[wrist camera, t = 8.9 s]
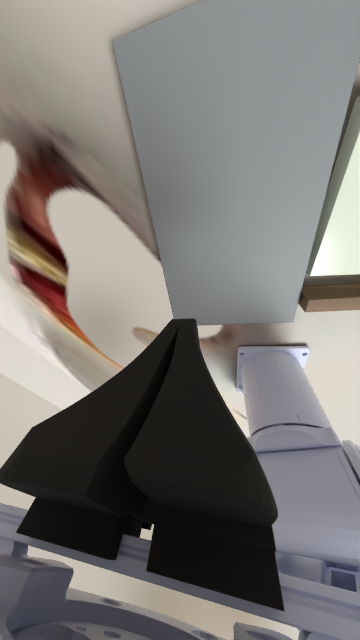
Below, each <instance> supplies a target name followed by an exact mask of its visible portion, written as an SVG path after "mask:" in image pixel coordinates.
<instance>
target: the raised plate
mask: <svg viewBox="0 0 360 640" xmlns="http://www.w3.org/2000/svg"><path fill="white" fill-rule="evenodd" d="M112 43H113V47H114V52H115V56H116V61H117V65H118V70H119V74H120V79H121V83H122V88H123V92H124V97H125V101H126V106H127V110H128V115H129V119H130V124H131V128H132V133H133V137H134V142H135V146H136V151H137V155H138V160H139V164H140V169H141V173H142V178H143V182H144V187H145V191H146V196H147V200H148V205H149V209H150V214H151V218H152V223H153V227H154V232H155V236H156V241H157V245H158V250H159V254H160V259H161V263H162V268H163V272H164V277H165V281H166V285H167V290H168V295H169V299H170V304H171V308H172V312H173V317H174V319H188V318H194V319H196V321H197V325H224V324H252V323H280V322H293V321H294V317H295V313H296V309H297V305H298V301H299V297H300V293H301V289H302V286H303V282H304V278H305V274H306V270H307V266H308V262H309V258H310V254H311V250H312V246H313V242H314V238H315V234H316V230H317V226H318V222H319V218H320V215H321V211H322V207H323V203H324V199H325V195H326V191H327V187H328V183H329V179H330V175H331V171H332V167H333V163H334V159H335V155H336V151H337V147H338V143H339V140H340V136H341V132H342V128H343V124H344V120H345V116H346V112H347V108H348V104H349V100H350V96H351V92H352V88H353V84H354V80H355V76H356V72H357V69H358V65H359V61H360V0H203V1H200V2H198V3H196V4H194V5H191V6H189V7H187V8H184V9H182V10H180V11H178V12H175V13H173V14H171V15H169V16H166V17H164V18H162V19H160V20H157V21H155V22H153V23H151V24H148V25H146V26H144V27H142V28H139V29H137V30H135V31H133V32H130V33H128V34H126V35H123V36H121V37H119V38H117V39H114V40H112Z"/></svg>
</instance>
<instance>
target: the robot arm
mask: <svg viewBox="0 0 360 640" xmlns="http://www.w3.org/2000/svg"><path fill="white" fill-rule="evenodd" d="M309 354H310V348H309V347H308V346H248V347H239V348H238V353H237V383H236V391H237V392H238V393H244V399H245V405H246V412H247V419H248V425H249V432H250V437H248V438H246V436H245V435H244V433H243V432H242V430H241V429H240V427H239V425H238V424H237V422H236V421H235V419H234V417H233V416H232V414H231V412H230V411H229V409H228V407H227V406H226V404H225V402H224V400H223V398H222V396H221V395H220V393H219V391H218V389H217V387H216V385H215V383H214V381H213V379H212V377H211V375H210V373H209V370H208V368H207V366H206V363H205V361H204V358H203V356H202V353H201V350H200V344H199V337H198V329H197V321H196V319H194V318H188V319H172V320H171V321H170V322H169V323H168V324H167V326H166V327H165V328H164V329H163V330H162V331H161V333H160V334H159V335H158V336H157V337H156V338H155V339H154V340H153V341H152V343H151V344H150V345H149V346H148V347H147V348H146V349H145V350H144V351H143V352H142V353H141V354H140V355H139V356H138V357H137V358H136V359H134V360H133V361H132V362H131V363H130V364H129V365H128V366H126V367H125V368H124V369H123V370H122V371H120V372H119V373H118V374H116V375H115V376H114V377H112V378H111V379H110V380H108V381H107V382H106V383H104V384H103V385H102V386H100V387H99V388H97V389H96V390H94V391H93V392H91V393H90V394H88V395H87V396H85V397H84V398H82V399H81V400H79V401H77V402H76V403H74V404H73V405H71V406H69V407H68V408H66V409H64V410H62V411H61V412H59V413H57V414H56V415H54V416H52V417H50V418H48V419H47V420H45V421H43V422H41V423H39V424H38V425H36V426H34V427H32V428H31V430H30V431H29V432H28V434H27V435H26V436H25V438H24V439H23V440H22V442H21V443H20V444H19V445H18V447H17V448H16V449H15V451H14V452H13V453H12V454H11V456H10V457H9V458H8V460H7V461H6V462H5V464H4V465H3V466H2V467H1V469H0V483H1V484H3V485H5V486H8V487H10V488H13V489H16V490H18V491H21V492H24V493H26V494H29V495H31V496H34V497H36V498H35V500H34V502H33V503H32V505H31V507H30V509H29V510H26V509H22V508H18V507H14V506H10V505H6V504H2V503H0V640H225V639H223V638H221V637H218V636H216V635H214V634H211V633H209V632H207V631H204V630H202V629H199V628H197V627H195V626H192V625H190V624H188V623H185V622H183V621H180V620H177V619H175V618H172V617H169V616H167V615H164V614H161V613H158V612H154V611H151V610H148V609H145V608H142V607H139V606H135V605H132V604H128V603H125V602H121V601H117V600H114V599H109V598H106V597H102V596H99V595H95V594H91V593H87V592H84V591H80V590H76V589H72V588H69V584H70V581H71V578H72V576H73V568H71V567H69V566H68V565H66V564H64V563H62V562H59V561H55V560H50V559H43V558H36V557H28V556H27V550H28V545H29V546H33V547H36V548H39V549H42V550H46V551H49V552H53V553H56V554H59V555H62V556H65V557H68V558H72V559H75V560H78V561H82V562H85V563H88V564H91V565H94V566H98V567H101V568H104V569H107V570H111V571H114V572H117V573H120V574H124V575H127V576H130V577H134V578H137V579H140V580H143V581H147V582H150V583H153V584H156V585H160V586H163V587H166V588H170V589H173V590H176V591H179V592H182V593H186V594H189V595H192V596H195V597H199V598H202V599H205V600H208V601H212V602H215V603H218V604H221V605H225V606H228V607H231V608H234V609H238V610H241V611H244V612H247V613H251V614H254V615H257V616H260V617H264V618H267V619H270V620H273V621H277V622H280V623H283V624H287V625H290V626H293V627H296V628H297V629H298V630H299V631H300V633H299V639H298V640H360V447H359V446H358V445H356V444H354V443H353V442H352V441H350V440H343V441H342V443H343V444H342V443H341V441H340V440H339V438H338V436H337V435H336V433H335V432H334V430H333V428H332V426H331V424H330V422H329V420H328V418H327V416H326V414H325V412H324V410H323V408H322V406H321V404H320V402H319V400H318V398H317V396H316V394H315V392H314V390H313V388H312V386H311V384H310V382H309V381H308V379H307V377H306V375H305V373H304V371H303V370H304V367H305V364H306V362H307V359H308V356H309ZM343 445H344V446H343ZM152 524H154V529H153V534H152V540H151V541H150V540H146V539H142V538H140V533H141V528H143V529H148V530H151V526H152ZM234 640H292V639H291V638H289V637H288V636H286V635H283V634H281V633H279V632H276V631H273V630H269V629H266V628H261V627H256V626H252V625H247V624H242V623H238V622H236V623H235V625H234Z"/></svg>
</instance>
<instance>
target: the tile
mask: <svg viewBox="0 0 360 640" xmlns="http://www.w3.org/2000/svg"><path fill="white" fill-rule="evenodd" d="M306 273H307V274H309V275H310V276H323V275H352V274H360V96H359V97H357V98H356V99H355V102H354V105H353V109H352V112H351V115H350V118H349V122H348V125H347V128H346V131H345V135H344V138H343V141H342V144H341V148H340V151H339V154H338V157H337V160H336V164H335V167H334V170H333V173H332V177H331V180H330V183H329V186H328V190H327V193H326V196H325V199H324V203H323V207H322V211H321V215H320V218H319V222H318V226H317V230H316V234H315V238H314V242H313V246H312V250H311V254H310V258H309V262H308V266H307V270H306Z"/></svg>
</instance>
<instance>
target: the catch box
mask: <svg viewBox="0 0 360 640" xmlns="http://www.w3.org/2000/svg"><path fill="white" fill-rule="evenodd" d="M359 63H360V61H359ZM298 303H299V305H300V306H301V307H302V308H303V310H304V311H305V312H321V311H343V310H360V283H350V284H336V285H323V286H309V287H302V289H301V293H300V297H299V301H298Z"/></svg>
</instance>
